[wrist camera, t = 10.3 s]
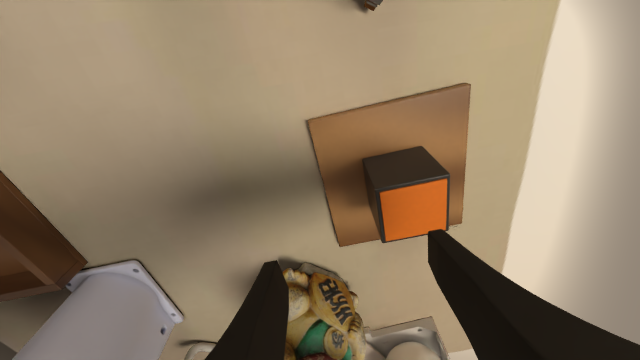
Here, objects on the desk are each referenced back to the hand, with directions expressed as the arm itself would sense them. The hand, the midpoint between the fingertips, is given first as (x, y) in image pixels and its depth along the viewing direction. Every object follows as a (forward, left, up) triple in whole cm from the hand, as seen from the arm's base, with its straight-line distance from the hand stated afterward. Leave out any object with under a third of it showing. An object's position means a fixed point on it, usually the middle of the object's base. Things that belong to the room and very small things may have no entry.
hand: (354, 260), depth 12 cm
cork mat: (-1, -4, -9) cm, 10 cm away
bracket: (-21, -2, -7) cm, 23 cm away
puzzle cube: (-1, -4, -9) cm, 10 cm away
